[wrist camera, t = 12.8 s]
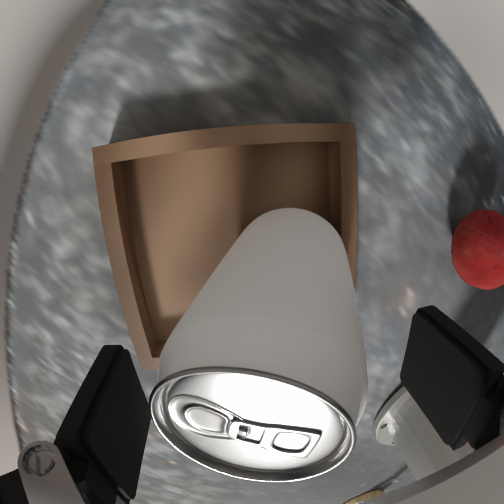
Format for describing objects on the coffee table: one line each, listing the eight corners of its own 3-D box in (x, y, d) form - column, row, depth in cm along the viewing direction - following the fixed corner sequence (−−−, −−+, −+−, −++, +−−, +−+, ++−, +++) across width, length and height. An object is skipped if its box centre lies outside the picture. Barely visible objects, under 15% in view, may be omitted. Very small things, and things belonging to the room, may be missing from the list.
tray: (337, 126, 17) (354, 124, 15) (336, 325, 21) (349, 344, 19) (107, 147, 16) (91, 147, 13) (147, 348, 20) (142, 369, 18)
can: (245, 194, 17) (120, 315, 6) (359, 220, 16) (422, 387, 5) (230, 292, 19) (146, 452, 8) (329, 316, 18) (323, 496, 8)
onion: (446, 190, 19) (525, 213, 12) (483, 214, 20) (551, 240, 13) (421, 259, 21) (491, 305, 13) (461, 274, 22) (523, 314, 14)
